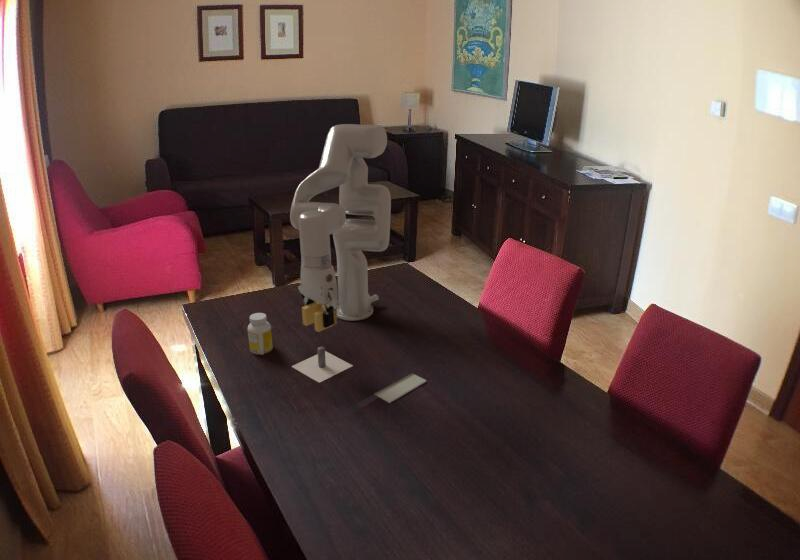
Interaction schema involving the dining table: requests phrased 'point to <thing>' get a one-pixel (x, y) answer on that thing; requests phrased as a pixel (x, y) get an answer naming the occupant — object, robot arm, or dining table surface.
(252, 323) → the pill bottle
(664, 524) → the dining table surface
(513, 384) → the dining table surface
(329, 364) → the stand
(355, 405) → the dining table surface
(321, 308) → the c link
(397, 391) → the mat
